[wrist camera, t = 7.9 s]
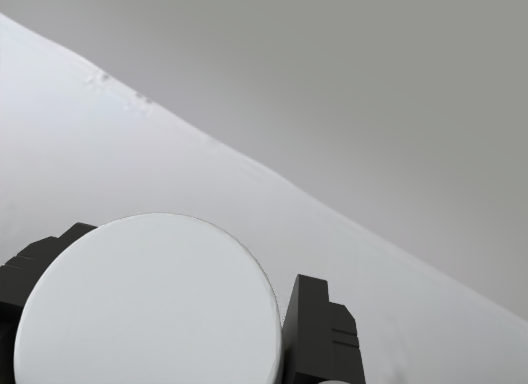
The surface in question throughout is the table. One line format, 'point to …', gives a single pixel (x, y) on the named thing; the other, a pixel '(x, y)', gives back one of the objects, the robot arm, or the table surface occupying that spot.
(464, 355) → the table surface
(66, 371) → the supplement bottle
